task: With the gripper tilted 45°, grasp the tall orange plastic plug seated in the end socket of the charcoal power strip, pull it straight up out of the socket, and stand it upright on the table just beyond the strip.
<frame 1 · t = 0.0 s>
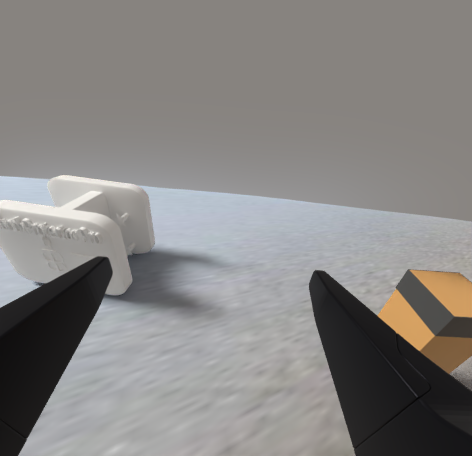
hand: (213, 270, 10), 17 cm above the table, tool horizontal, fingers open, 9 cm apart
cable organizer: (98, 268, 32), on the table
plug: (408, 344, 18), in the power strip
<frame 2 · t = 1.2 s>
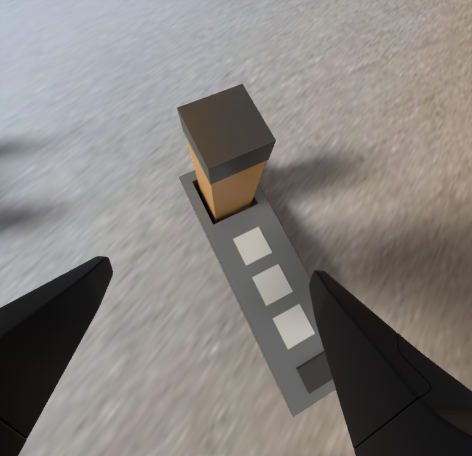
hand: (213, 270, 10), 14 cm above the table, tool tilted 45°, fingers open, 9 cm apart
power strip: (224, 202, 25), on the table
plug: (225, 176, 18), in the power strip
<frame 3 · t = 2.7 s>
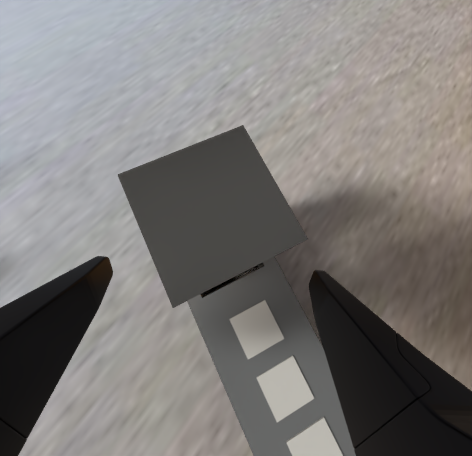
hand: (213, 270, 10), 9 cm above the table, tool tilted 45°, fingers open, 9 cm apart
power strip: (219, 254, 19), on the table
plug: (217, 242, 13), in the power strip
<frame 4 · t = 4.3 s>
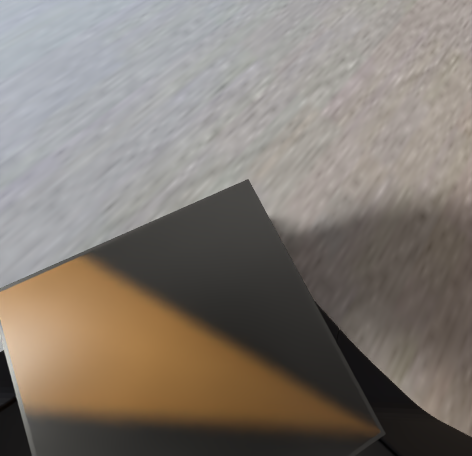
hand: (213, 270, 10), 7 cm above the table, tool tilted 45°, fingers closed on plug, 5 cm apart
plug: (210, 303, 9), in the power strip, touching gripper
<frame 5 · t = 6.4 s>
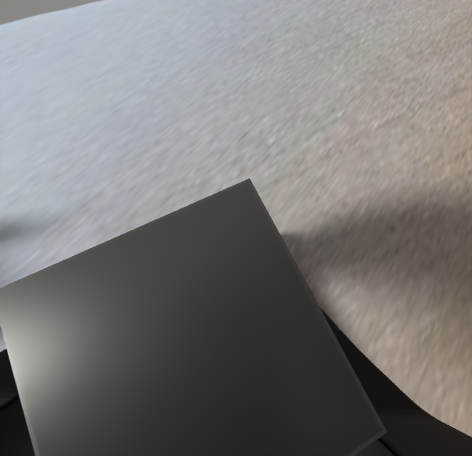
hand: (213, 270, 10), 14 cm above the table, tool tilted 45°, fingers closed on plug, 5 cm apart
plug: (211, 303, 9), point 13 cm above the table, touching gripper
when the fingers open (8 cm above the table, at t = 8.6 s): plug drops 1 cm, on the table.
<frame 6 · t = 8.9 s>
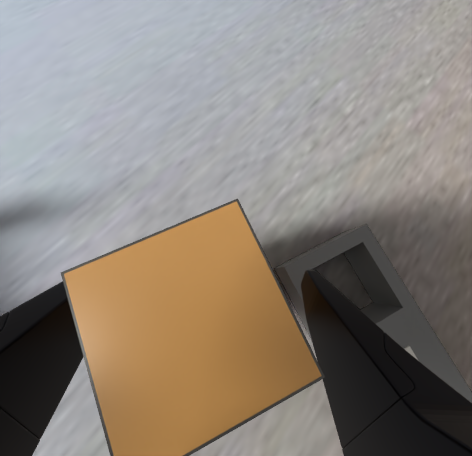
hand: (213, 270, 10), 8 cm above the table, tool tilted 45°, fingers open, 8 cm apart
power strip: (331, 288, 18), on the table
plug: (211, 298, 11), on the table
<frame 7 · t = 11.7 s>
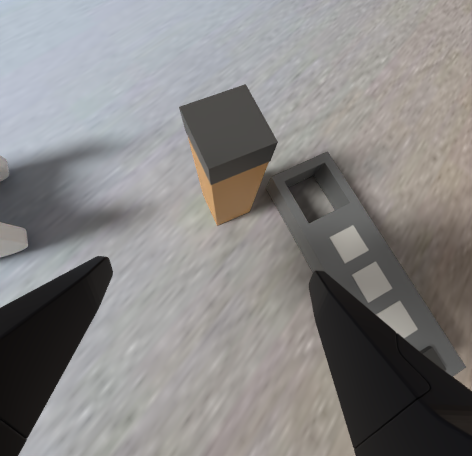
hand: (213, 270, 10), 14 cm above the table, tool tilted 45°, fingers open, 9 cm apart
power strip: (306, 201, 25), on the table
plug: (226, 177, 18), on the table
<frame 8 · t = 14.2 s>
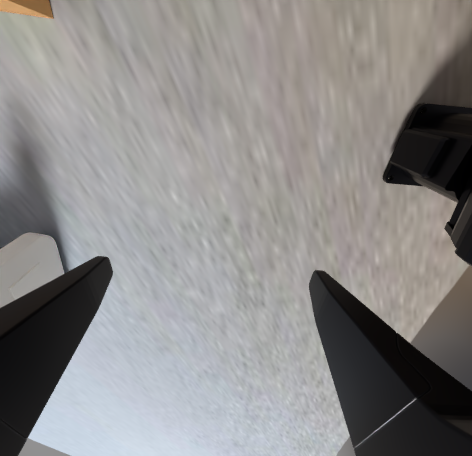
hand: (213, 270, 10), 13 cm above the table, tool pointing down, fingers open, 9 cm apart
cable organizer: (30, 266, 27), on the table
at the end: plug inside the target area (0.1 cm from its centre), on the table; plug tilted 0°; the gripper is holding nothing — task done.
